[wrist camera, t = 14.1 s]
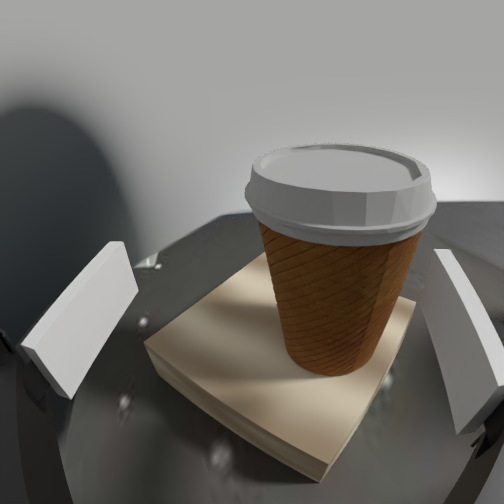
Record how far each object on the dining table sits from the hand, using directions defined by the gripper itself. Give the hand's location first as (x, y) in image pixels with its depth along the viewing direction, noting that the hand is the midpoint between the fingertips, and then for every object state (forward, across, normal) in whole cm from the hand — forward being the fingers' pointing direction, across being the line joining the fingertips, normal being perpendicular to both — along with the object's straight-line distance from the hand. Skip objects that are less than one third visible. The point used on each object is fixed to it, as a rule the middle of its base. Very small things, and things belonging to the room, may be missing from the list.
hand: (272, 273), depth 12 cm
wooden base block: (+6, 0, -13) cm, 14 cm away
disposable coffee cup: (+4, +3, -9) cm, 10 cm away
